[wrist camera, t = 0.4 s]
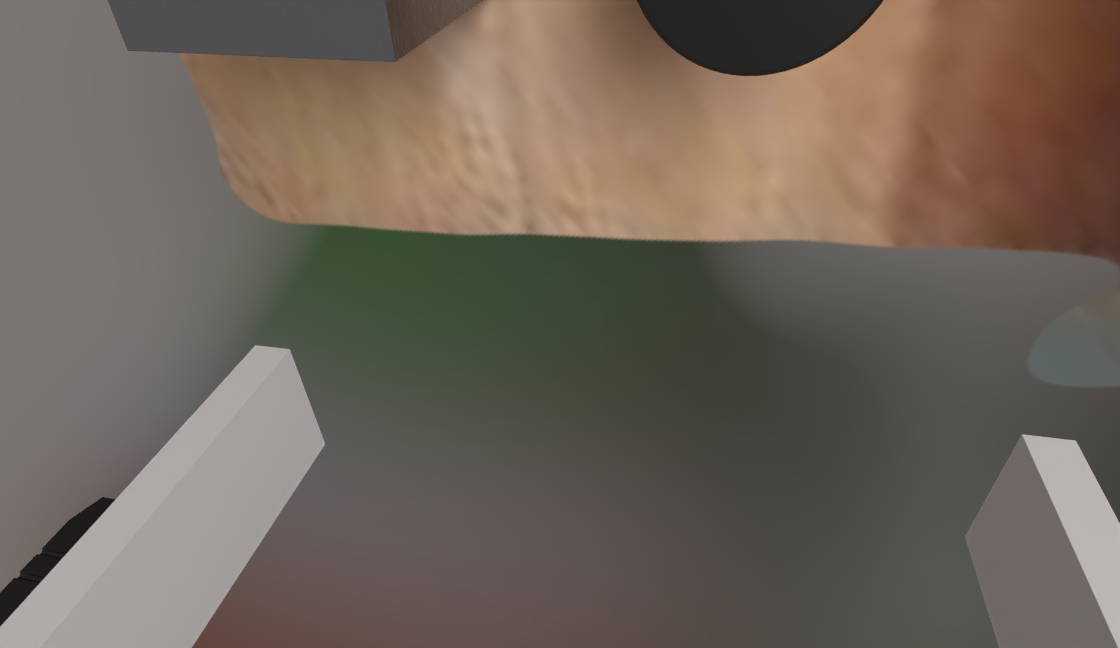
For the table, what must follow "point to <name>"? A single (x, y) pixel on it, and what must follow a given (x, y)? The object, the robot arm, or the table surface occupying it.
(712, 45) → the jar
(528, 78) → the table surface
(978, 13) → the table surface
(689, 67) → the table surface
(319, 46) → the frame
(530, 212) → the table surface
